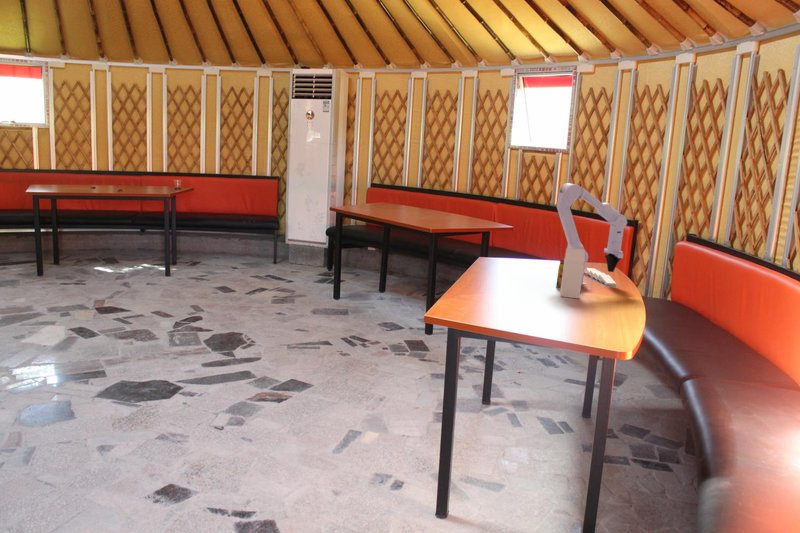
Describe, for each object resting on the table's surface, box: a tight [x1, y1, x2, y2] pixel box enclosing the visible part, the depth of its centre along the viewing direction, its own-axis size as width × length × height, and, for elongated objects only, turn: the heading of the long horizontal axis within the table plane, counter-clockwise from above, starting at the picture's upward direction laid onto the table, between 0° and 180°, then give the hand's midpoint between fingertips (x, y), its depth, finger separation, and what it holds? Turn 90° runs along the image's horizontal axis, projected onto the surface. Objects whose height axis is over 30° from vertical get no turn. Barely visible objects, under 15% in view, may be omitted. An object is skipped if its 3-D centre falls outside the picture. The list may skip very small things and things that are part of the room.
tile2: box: [594, 271, 607, 283], centre depth 289 cm, size 1×4×8 cm
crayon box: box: [555, 259, 564, 289], centre depth 268 cm, size 7×3×12 cm, turn 73°
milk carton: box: [559, 247, 586, 299], centre depth 253 cm, size 7×7×19 cm
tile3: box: [590, 269, 602, 281], centre depth 293 cm, size 1×4×8 cm
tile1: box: [599, 274, 617, 286], centre depth 284 cm, size 1×4×8 cm
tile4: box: [585, 267, 598, 278], centre depth 298 cm, size 1×4×8 cm
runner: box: [586, 276, 620, 288], centre depth 289 cm, size 23×6×1 cm, turn 7°
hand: (610, 271), depth 281 cm, fingers closed
